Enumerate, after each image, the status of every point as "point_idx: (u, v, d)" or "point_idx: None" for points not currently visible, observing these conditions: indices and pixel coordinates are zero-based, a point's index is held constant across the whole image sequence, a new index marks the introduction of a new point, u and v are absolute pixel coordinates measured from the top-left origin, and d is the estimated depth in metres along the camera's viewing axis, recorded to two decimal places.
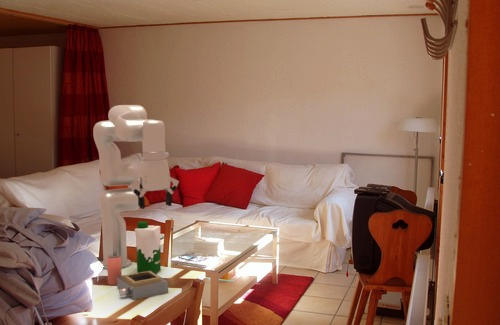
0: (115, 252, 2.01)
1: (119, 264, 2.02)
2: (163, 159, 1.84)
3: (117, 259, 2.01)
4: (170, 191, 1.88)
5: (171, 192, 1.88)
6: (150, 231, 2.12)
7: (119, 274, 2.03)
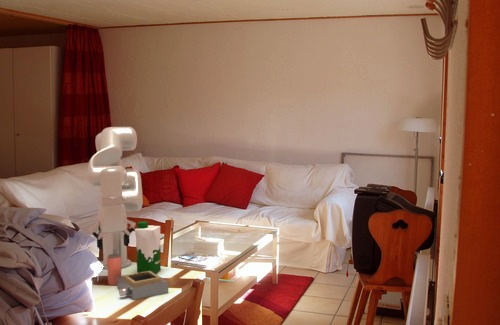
0: (115, 252, 2.01)
1: (119, 264, 2.02)
2: (120, 204, 2.00)
3: (117, 259, 2.01)
4: (127, 233, 2.03)
5: (128, 233, 2.04)
6: (150, 231, 2.12)
7: (119, 274, 2.03)
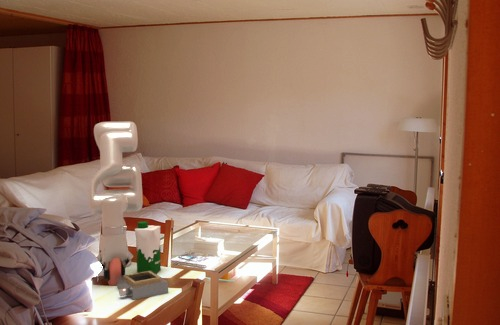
0: None
1: (119, 264, 2.02)
2: (121, 233, 2.01)
3: (117, 259, 2.01)
4: (124, 264, 2.04)
5: (124, 265, 2.04)
6: (150, 231, 2.12)
7: (119, 274, 2.03)
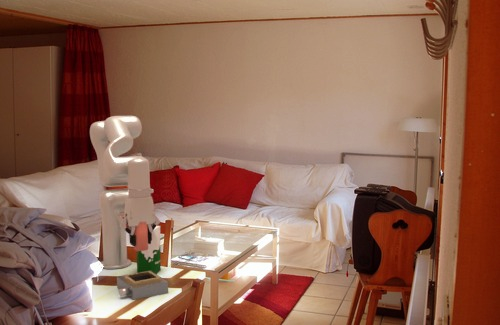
0: None
1: (146, 229, 1.92)
2: (148, 196, 1.91)
3: (144, 223, 1.91)
4: (150, 229, 1.94)
5: (151, 230, 1.94)
6: None
7: (146, 239, 1.93)
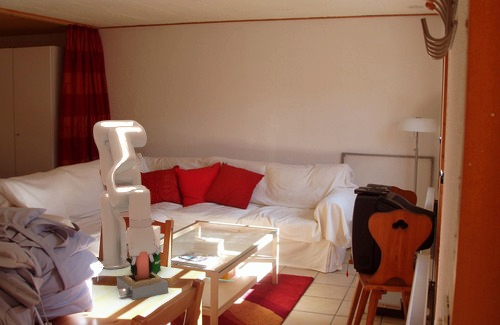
0: None
1: (147, 258, 1.93)
2: (149, 226, 1.92)
3: (145, 253, 1.93)
4: (151, 258, 1.95)
5: (152, 260, 1.95)
6: None
7: (147, 269, 1.94)
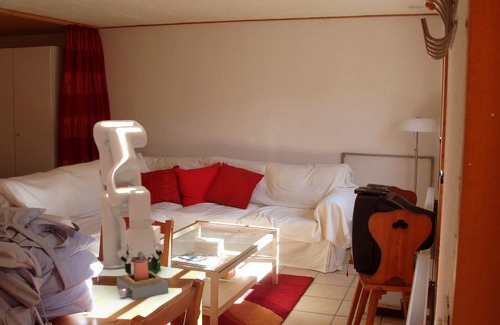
0: (141, 256, 1.91)
1: (146, 268, 1.93)
2: (149, 227, 1.92)
3: (144, 263, 1.91)
4: (156, 256, 1.96)
5: (157, 257, 1.97)
6: None
7: (146, 278, 1.93)
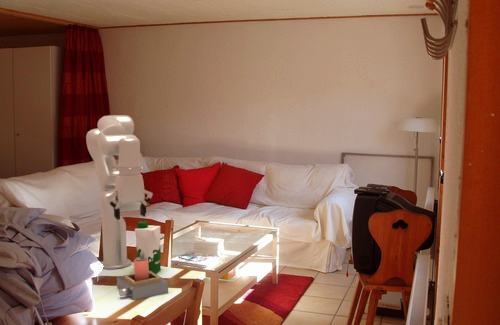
0: (142, 255, 1.93)
1: (147, 267, 1.94)
2: (138, 174, 1.97)
3: (145, 262, 1.93)
4: (144, 203, 2.02)
5: (145, 204, 2.02)
6: (150, 231, 2.12)
7: (147, 278, 1.94)
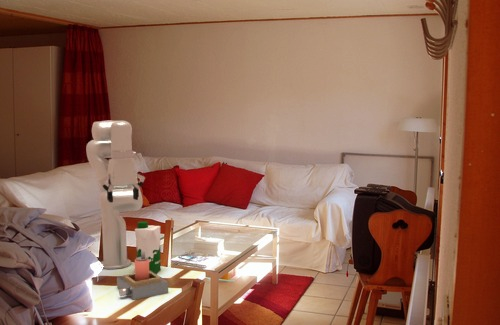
0: (143, 255, 1.93)
1: (147, 267, 1.94)
2: (130, 157, 2.02)
3: (145, 262, 1.93)
4: (137, 186, 2.07)
5: (138, 187, 2.07)
6: (150, 231, 2.12)
7: (147, 278, 1.94)
